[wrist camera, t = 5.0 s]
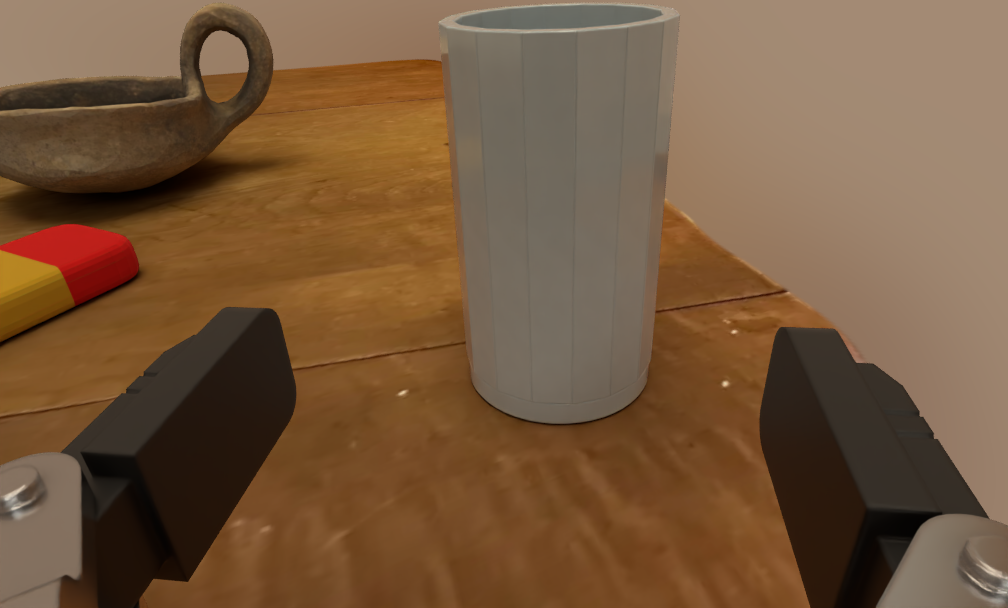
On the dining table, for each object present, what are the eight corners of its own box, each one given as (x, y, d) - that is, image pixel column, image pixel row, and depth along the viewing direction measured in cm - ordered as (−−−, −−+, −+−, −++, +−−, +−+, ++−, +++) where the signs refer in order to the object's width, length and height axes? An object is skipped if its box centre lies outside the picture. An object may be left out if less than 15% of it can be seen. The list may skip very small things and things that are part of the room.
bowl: (32, 168, 45) (-33, 11, 40) (292, 138, 49) (262, -8, 44) (-49, 245, 34) (-154, 40, 29) (298, 197, 38) (260, 10, 33)
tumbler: (686, 372, 22) (729, 9, 16) (549, 453, 19) (543, 39, 13) (564, 304, 26) (565, -2, 20) (436, 361, 23) (396, 20, 17)
